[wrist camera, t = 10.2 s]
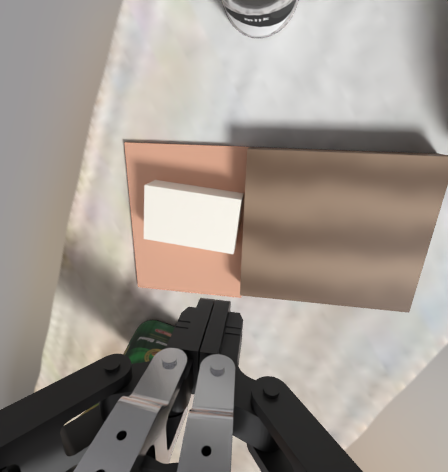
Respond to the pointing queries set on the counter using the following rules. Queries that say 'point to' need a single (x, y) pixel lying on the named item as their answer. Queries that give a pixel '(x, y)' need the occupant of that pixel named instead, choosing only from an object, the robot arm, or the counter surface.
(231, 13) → the mug
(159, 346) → the coffee jar
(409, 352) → the counter surface
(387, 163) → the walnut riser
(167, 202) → the cream block
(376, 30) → the counter surface
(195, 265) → the terracotta mat
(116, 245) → the counter surface
